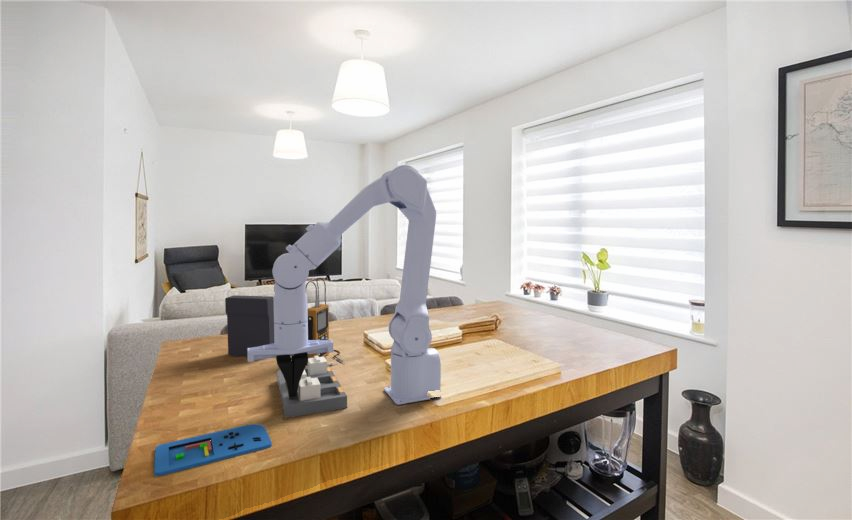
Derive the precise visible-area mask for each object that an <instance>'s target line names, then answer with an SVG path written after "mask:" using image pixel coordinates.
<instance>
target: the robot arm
mask: <svg viewBox="0 0 852 520" xmlns="http://www.w3.org/2000/svg"><path fill="white" fill-rule="evenodd" d="M383 204H391V205H393V206H394V207H396V208H398V210H399V211H400V212H401V213H402V215H404V217H405V218H406V219H407V220H408V223H407V224H408V226H407V234H406V242H405V243H406V244H405V251H404V258H403V259H404V261H403V266H402V267H403V269H402V277H401V278H402V279H401V287H400V295H399V300H398V302H397V304H396V305H395V310H394V314H393V316H392V318H391V319H390V322H389V323H388V324H389V325H388V333H389V336H390V337H391V338H392V340H393V343H392V345H391V347H390V385H389V386H385V387H384V388H383V390H384V391H385V393H386V394H387V395H388V397H389V398H390V399H391V400H392V401H393V403H394V404H396V405H406V404H411V403H416V402H421V401H427V400H431V399H430V397H429V396H427V392H428V391H435V390H440V391H441V385H442V384H441V377H442V373H441V370H442V369H441V368H442V364H441V358H440V354H439V351H437V349H436V348H435V347H430V346H431V343H432V340H433V335H432V334H433V333H432V331H431V329H430V315H429V311H428V307H427V297H428V289H429V281H430V280H429V279H430V271H431V265H432V263H431V262H432V255H433V247H434V246H433V245H434V238H435V229H436V222H437V221H436V220H437V210H436V207H435V205H434V203H433V200H432V197H431V195H430V192H429V189H428V181H427V179H426V178H425V177H424V176H423V175H422V173H420V172H419V171H418V170H417V169H416V168H415V167H413V166H411V165H408V164H400V165H398V166H396V167H394V168H393V169H392V170H388V171H386V172H384V173H383V174H382V175H381V176H380V177H378V178H377V179H375V180H374V181H372V182H370V183H369V184H368V185H366V186H365V187H363V189H361V190H360V191H359V192H358V193H357V194H356V195H355V196H354V197H353V198H352V199H351V200H350V201H349V202H348V203H347V204H346V205H345V206H344V207H343V208H342V209H340V210H339V212H338V213H336V215H335V216H334V217H333V218H332V219H331V220H330V221H329V222H323V221H319V222H316V223H314V225H313V224H309V225H308V226H307V227H305V230H306V232H305V233H304V234H303V235H302V236H301V237H300V238H299V239H298V240H296V241H295V242H294V244H292V245H291V244H288V245H287V246H286V247H285V249H286V251H287V253H283V254H281V255H279V256H278V257H277V258H276V259H275V261H274V263H273V267H272V269H271V270H272V277H273V279H274V281H275V282H274V285H273V292H274V295H273V296H272V297H273V300H274V342H275V343H274V344H269V345H264V346H259V347H252V348H247V352H248V357H247V362H248V363H249V362H250V363H252V362H255V361H259V360H267V359H274V358H275V360H276V364H277V366H278V368H279V371H281V372H282V374H283V376H284V378H285V381H286V384H287V388H288V395H289V397H295V396H297V391H298V386H299V382H300V379H301V376H302V374H303V371H304V369H305V367H307V366H308V356H307V354H313V353H321V352H327V353H329V354H330V353H334V351H333V350H334V341H333V340H332V339H329V340H308V310H307V309H308V294H307V288H306V284H307V281H308V278H309V275H310V274H309V273H310V272H309V271H311V270H316V269H317V268H318V267H319V266H320V265H321V264H322V263H324V261H326V259H327V258H329V256H331V255H332V254H333V253H334V252H335V251H336V250H337V249H338V248H339V247H340V246H341V242H342V241H341V239H342V238H341V237H342V234H344V233H345V232H346V231H347V230H348V229H349V228H351V226H353V225H354V224H355V223H357V222H358V220H360V219H361V218H362V217H363V216H364V215H366V214H367V213H369V211H370V210H371V209H372V208H374V207H376V206H379V205H383Z"/></svg>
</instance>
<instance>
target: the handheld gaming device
mask: <svg viewBox="0 0 852 520" xmlns="http://www.w3.org/2000/svg"><path fill="white" fill-rule="evenodd" d="M210 440H211V441H210ZM272 446H273V443H272V440H271V438H270V436H269V433H268V432H267V430H266V427H265V426H264V425H261V424H257V423H251V424H245V425H241V426H237V427H236V426H235V427H232V428H228V429H222V430H219V431H215V432H214V431H213V432H210V433H206V434H205V433H204V434H202V435H197V436H192V437H187V438H184V439H179V440H175V441H170V442H165V443H161V444H159V445H158V444H157V446H156V447H155V450H154V466H153V467H154V469H153V473H154V475H153V476H155V477H161V476H165V475H170V474H172V473H176V472H181V471H185V470H189V469H192V468H197V467H200V466H204V465H208V464H212V463H215V462H219V461H223V460H226V459H230V458H234V457H239V456H241V455H246V454H250V453H253V452H258V451H261V450H267V449H270V448H271V447H272Z"/></svg>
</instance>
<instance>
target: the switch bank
mask: <svg viewBox="0 0 852 520" xmlns="http://www.w3.org/2000/svg"><path fill="white" fill-rule="evenodd" d="M305 372H306V374H307V377H311V378H318V380H319V382H320V389H321V398H316V399H310V400H304V401H299V399H298V391H297V396H295V397H289V395H288V390H287V387H286V381H285V378H284V376H283V374H282V372H281V370H277V371H276V381H278V382H277V385H278V386H279V387H278V391H279V390H280V391H279V396H280V395H281V396H280V400H281V399H282V401H281V405H282V404H283V405H282V409H284V410H283V415H284V414H285V415H284V418H285V419H288V418H293V417H292V416H294V417H299V415H300V416H306V415H311V414H316V413H323V412H330V411H335V410H336V411H337V410H341V409H346V408H347V409H348V395H347V394H346V392H345V390H344V389H343V387H342V385H341V383H340V382H339V380H338V378H337V377H336V375H335V374H334V372H333V370H332V368H331V367H330V366H329V365H327V373H325V374H318V375H310V376H308V366H306V367H305Z"/></svg>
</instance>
